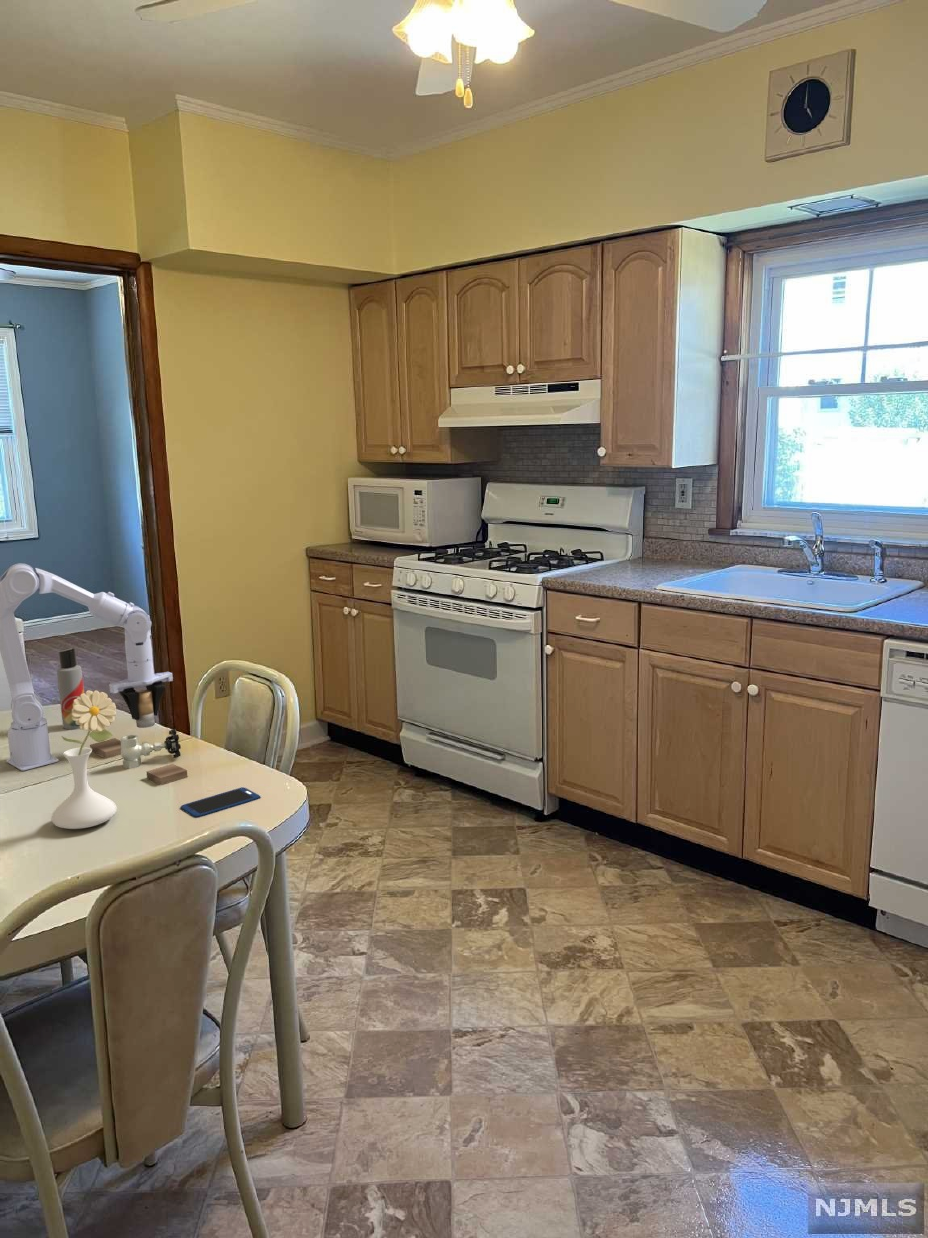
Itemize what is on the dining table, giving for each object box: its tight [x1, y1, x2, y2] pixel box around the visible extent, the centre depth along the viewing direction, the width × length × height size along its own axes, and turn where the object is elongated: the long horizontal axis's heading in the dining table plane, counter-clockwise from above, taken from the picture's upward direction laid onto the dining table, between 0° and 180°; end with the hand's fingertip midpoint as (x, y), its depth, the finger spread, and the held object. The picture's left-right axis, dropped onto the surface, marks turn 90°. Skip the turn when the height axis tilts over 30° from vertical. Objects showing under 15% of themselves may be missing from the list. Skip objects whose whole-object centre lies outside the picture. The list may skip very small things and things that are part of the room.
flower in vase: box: [51, 689, 118, 830], centre depth 170 cm, size 13×11×25 cm
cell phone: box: [180, 786, 261, 819], centre depth 179 cm, size 7×14×1 cm, turn 132°
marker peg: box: [135, 689, 156, 729], centre depth 214 cm, size 4×4×8 cm
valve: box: [120, 728, 181, 770], centre depth 203 cm, size 7×7×12 cm
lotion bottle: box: [56, 647, 85, 730], centre depth 229 cm, size 6×6×20 cm
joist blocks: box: [89, 737, 188, 786], centre depth 203 cm, size 33×6×2 cm, turn 46°
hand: (144, 716), depth 214 cm, fingers closed on marker peg, 4 cm apart
